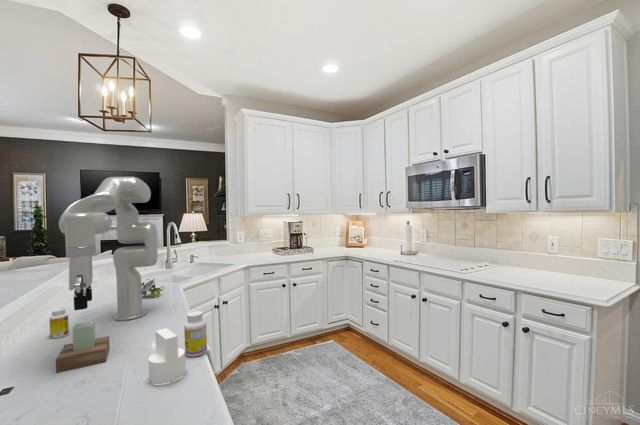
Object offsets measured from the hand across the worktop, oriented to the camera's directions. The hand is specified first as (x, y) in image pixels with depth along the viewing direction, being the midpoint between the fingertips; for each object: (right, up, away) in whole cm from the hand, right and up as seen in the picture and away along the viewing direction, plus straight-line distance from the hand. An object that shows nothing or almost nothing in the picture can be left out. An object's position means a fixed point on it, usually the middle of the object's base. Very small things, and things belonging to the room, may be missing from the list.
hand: (83, 305), depth 98 cm
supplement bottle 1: (-25, -18, +20) cm, 37 cm away
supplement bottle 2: (+36, -16, +1) cm, 39 cm away
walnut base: (+1, -17, 0) cm, 17 cm away
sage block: (+1, -13, 0) cm, 13 cm away
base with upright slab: (+33, -16, -13) cm, 39 cm away
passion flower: (-20, -18, +76) cm, 81 cm away
